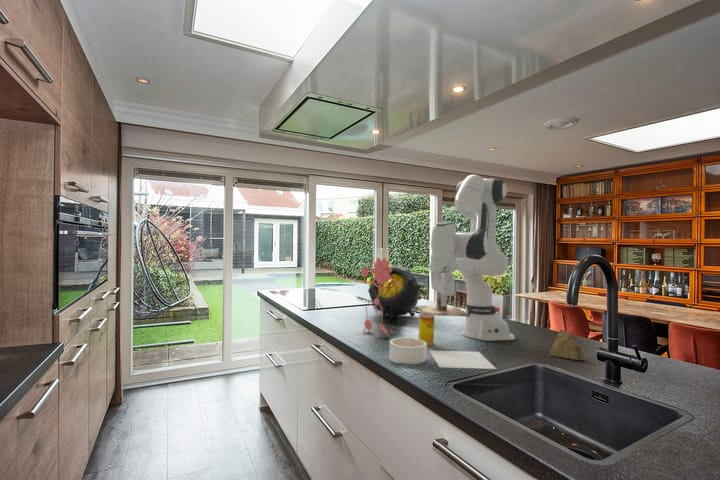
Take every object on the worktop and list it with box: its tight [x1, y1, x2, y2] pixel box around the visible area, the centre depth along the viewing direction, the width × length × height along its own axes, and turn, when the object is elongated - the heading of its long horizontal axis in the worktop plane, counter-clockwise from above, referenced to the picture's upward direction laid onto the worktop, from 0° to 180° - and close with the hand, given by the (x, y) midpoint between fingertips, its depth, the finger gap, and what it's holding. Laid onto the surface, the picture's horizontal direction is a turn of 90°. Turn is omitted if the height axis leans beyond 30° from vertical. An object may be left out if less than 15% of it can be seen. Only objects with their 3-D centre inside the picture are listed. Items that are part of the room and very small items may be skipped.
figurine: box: [360, 256, 399, 339], centre depth 169 cm, size 15×26×35 cm, turn 39°
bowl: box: [388, 337, 428, 365], centre depth 133 cm, size 13×13×6 cm
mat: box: [429, 350, 497, 370], centre depth 133 cm, size 19×19×1 cm
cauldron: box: [368, 264, 422, 321], centre depth 209 cm, size 28×28×24 cm
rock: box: [548, 328, 585, 361], centre depth 139 cm, size 11×9×10 cm
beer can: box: [418, 309, 435, 346], centre depth 153 cm, size 6×6×15 cm
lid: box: [416, 297, 469, 318], centre depth 132 cm, size 15×15×5 cm
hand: (441, 305), depth 132 cm, fingers closed on lid, 3 cm apart
